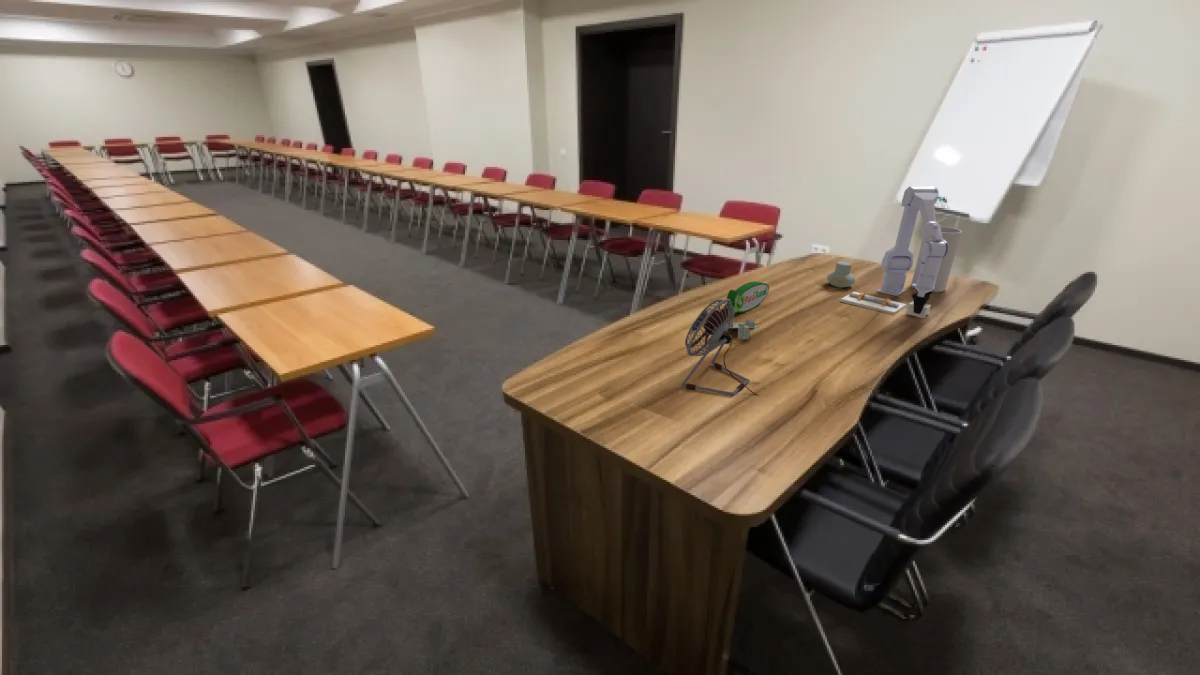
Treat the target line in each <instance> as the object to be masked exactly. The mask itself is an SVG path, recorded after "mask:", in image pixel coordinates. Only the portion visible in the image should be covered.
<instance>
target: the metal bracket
mask: <svg viewBox="0 0 1200 675" xmlns="http://www.w3.org/2000/svg"><path fill="white" fill-rule="evenodd" d="M727 320H728V319H727ZM754 328H755V329H761V327H760V326H758V322H755V321H753V320H751V319H748V318H746V319H745V322H734V321H732V323H731V325H730V328H729V327H728V329H737V339H738V340H749V336H750V335H749V334H750V333H749V332H750V329H754Z"/></svg>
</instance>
